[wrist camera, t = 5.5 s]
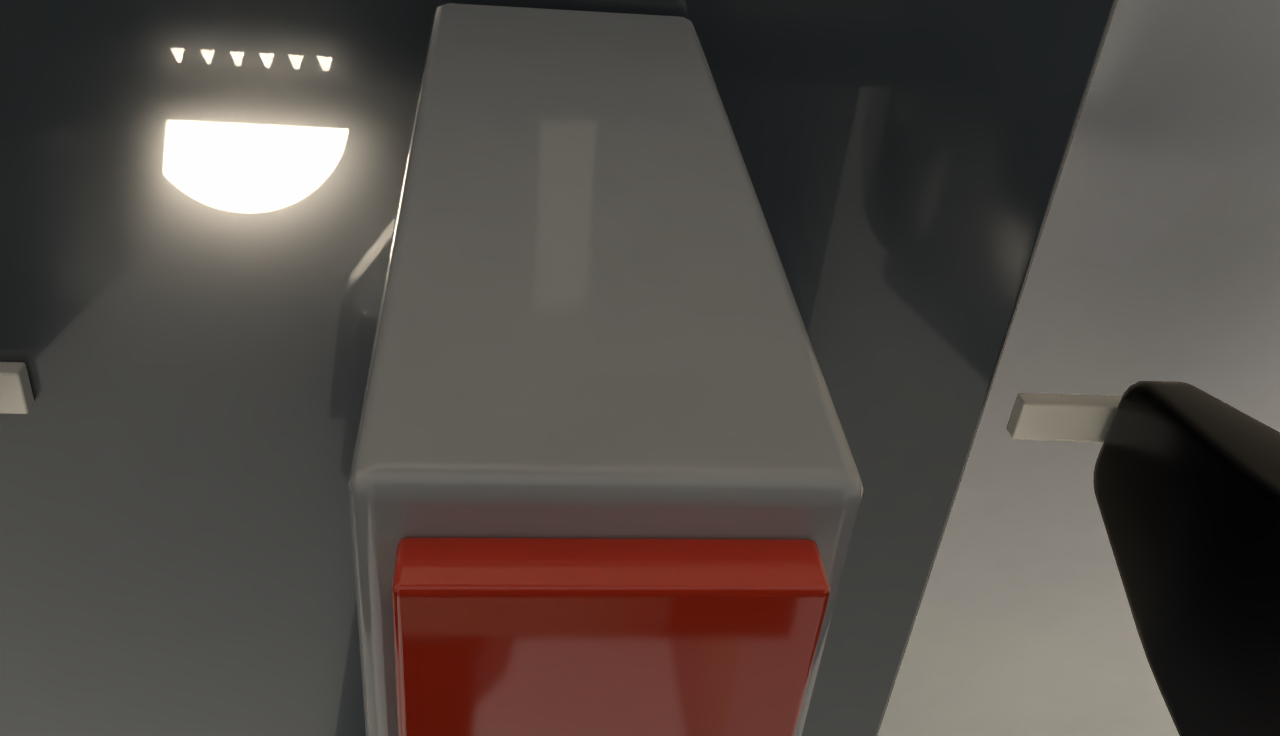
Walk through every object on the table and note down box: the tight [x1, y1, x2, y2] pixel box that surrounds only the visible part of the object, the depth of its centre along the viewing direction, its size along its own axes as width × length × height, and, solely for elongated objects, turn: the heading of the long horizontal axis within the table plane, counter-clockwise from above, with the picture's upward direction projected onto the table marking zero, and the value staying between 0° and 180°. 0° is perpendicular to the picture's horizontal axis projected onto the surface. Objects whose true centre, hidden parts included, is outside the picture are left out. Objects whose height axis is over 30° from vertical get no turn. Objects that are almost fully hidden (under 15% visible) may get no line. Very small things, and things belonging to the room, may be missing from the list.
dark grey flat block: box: [0, 0, 1122, 736], centre depth 10 cm, size 14×13×3 cm
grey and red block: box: [348, 3, 863, 736], centre depth 7 cm, size 6×2×5 cm, turn 175°
